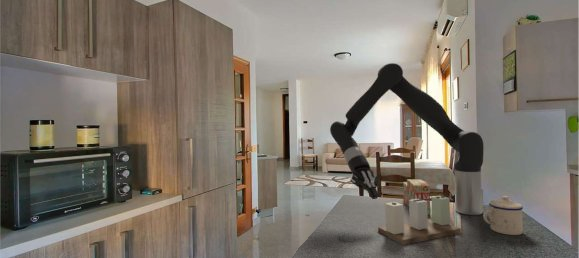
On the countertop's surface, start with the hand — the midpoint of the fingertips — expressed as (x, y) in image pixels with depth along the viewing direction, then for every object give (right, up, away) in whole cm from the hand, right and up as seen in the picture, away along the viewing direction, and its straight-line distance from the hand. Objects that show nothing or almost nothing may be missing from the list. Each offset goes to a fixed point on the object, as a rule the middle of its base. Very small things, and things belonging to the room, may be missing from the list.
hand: (375, 197), depth 101 cm
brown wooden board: (+13, -10, -6) cm, 18 cm away
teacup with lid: (+41, -10, -6) cm, 42 cm away
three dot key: (+13, -9, -6) cm, 16 cm away
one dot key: (+3, -9, -9) cm, 13 cm away
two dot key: (+22, -8, -2) cm, 24 cm away
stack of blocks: (+25, -10, +23) cm, 36 cm away
